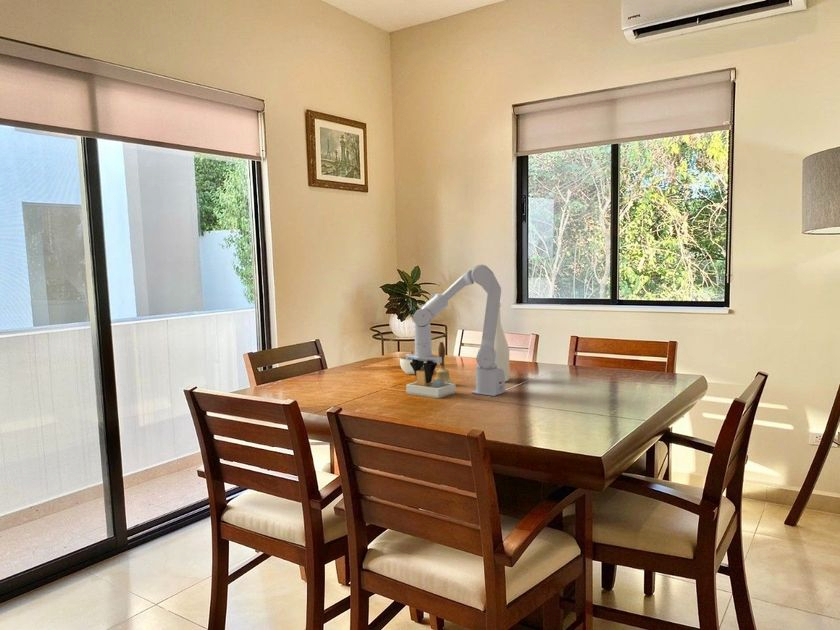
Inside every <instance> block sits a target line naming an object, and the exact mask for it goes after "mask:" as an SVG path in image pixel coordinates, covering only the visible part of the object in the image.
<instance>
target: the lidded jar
mask: <svg viewBox="0 0 840 630" xmlns="http://www.w3.org/2000/svg"><path fill="white" fill-rule="evenodd" d="M407 354H415V351H414V350H410V352H403V353H400V354H398V357H399V365H400V367H401V369H402V371H403V372H404V373H405V374H406V375H415V372H414V370H413V368H412V366H411V365H410V362H412V360H406V355H407ZM423 360H424V359H423ZM424 363H426V362H425V361H424ZM423 367H424V366H423Z"/></svg>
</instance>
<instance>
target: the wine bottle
mask: <svg viewBox="0 0 840 630" xmlns="http://www.w3.org/2000/svg"><path fill="white" fill-rule="evenodd" d="M501 305H502V304H501V302H500V304H499V311H498V319H497V327H496V334H495V342H494V351H495V354H496V356H495V362H494V363H495V364H496V365H497V368H499V369H502V370H503V371H504V374H505V383H506V382H508V381H509V380H510V376H511V375H510V374H511V373H510V372H511V369H510V367H511V366H510V348H509V344H508V341H507V338H506V336H505V332H504V330H503V326H502V323H501V308H502V307H501Z"/></svg>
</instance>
